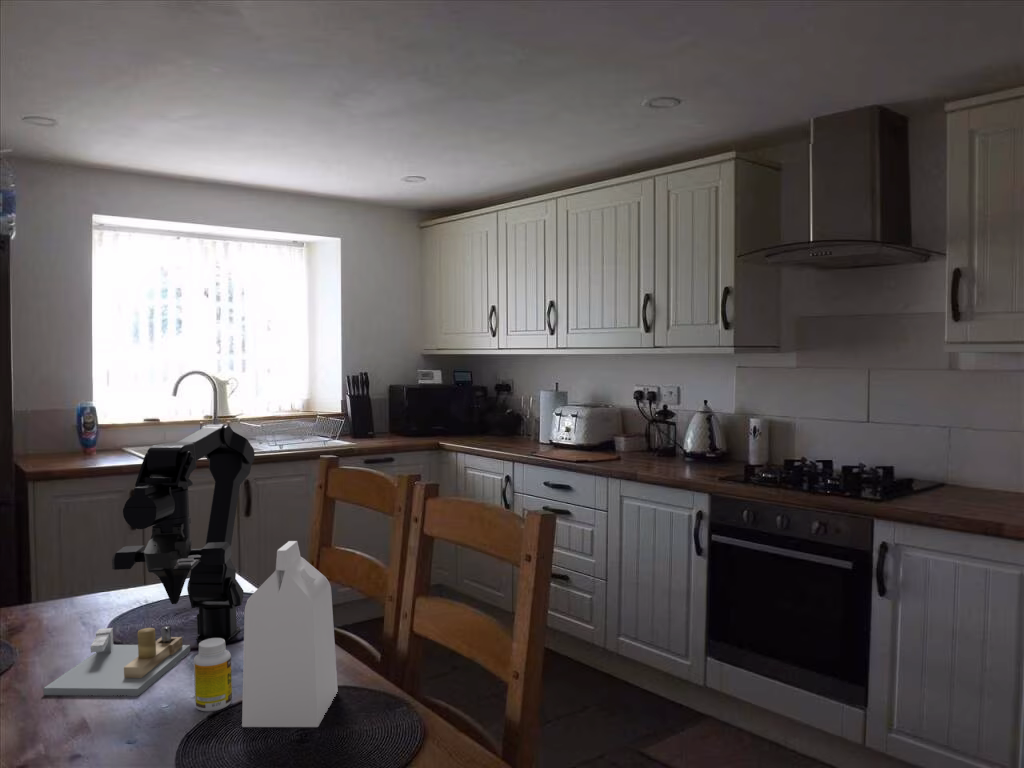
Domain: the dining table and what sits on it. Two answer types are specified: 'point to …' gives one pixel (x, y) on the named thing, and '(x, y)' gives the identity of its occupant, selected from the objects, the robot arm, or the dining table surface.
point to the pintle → (166, 634)
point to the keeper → (103, 641)
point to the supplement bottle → (212, 675)
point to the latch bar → (150, 653)
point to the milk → (289, 646)
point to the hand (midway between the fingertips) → (174, 603)
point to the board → (110, 674)
